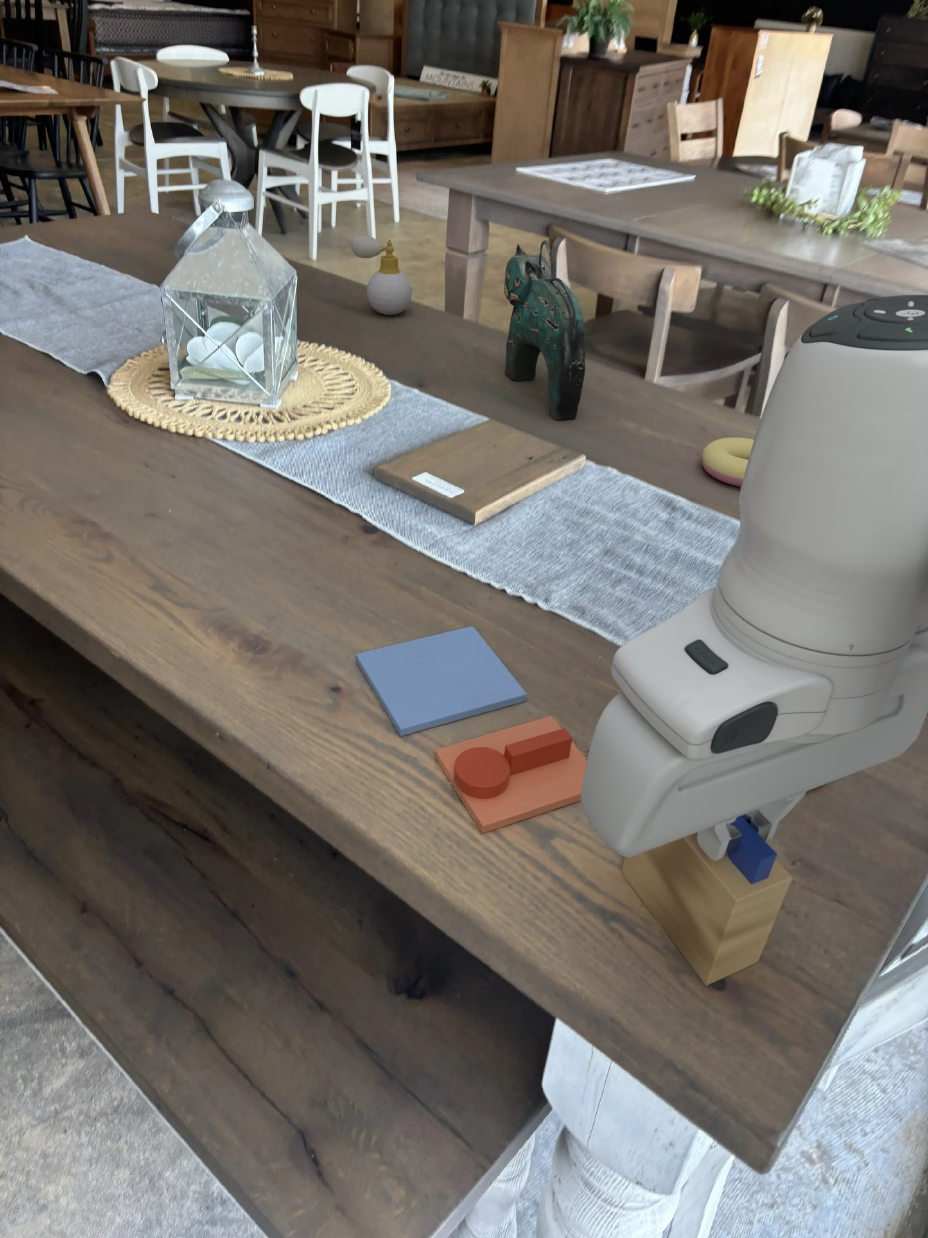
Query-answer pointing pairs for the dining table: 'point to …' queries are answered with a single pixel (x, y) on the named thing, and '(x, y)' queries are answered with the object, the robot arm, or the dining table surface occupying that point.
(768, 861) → the blue spoon
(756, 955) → the spoon stand
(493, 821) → the terracotta tile
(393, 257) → the perfume bottle
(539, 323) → the ceramic cat
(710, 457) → the donut
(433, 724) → the blue tile
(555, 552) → the dining table surface
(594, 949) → the dining table surface
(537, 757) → the terracotta spoon
